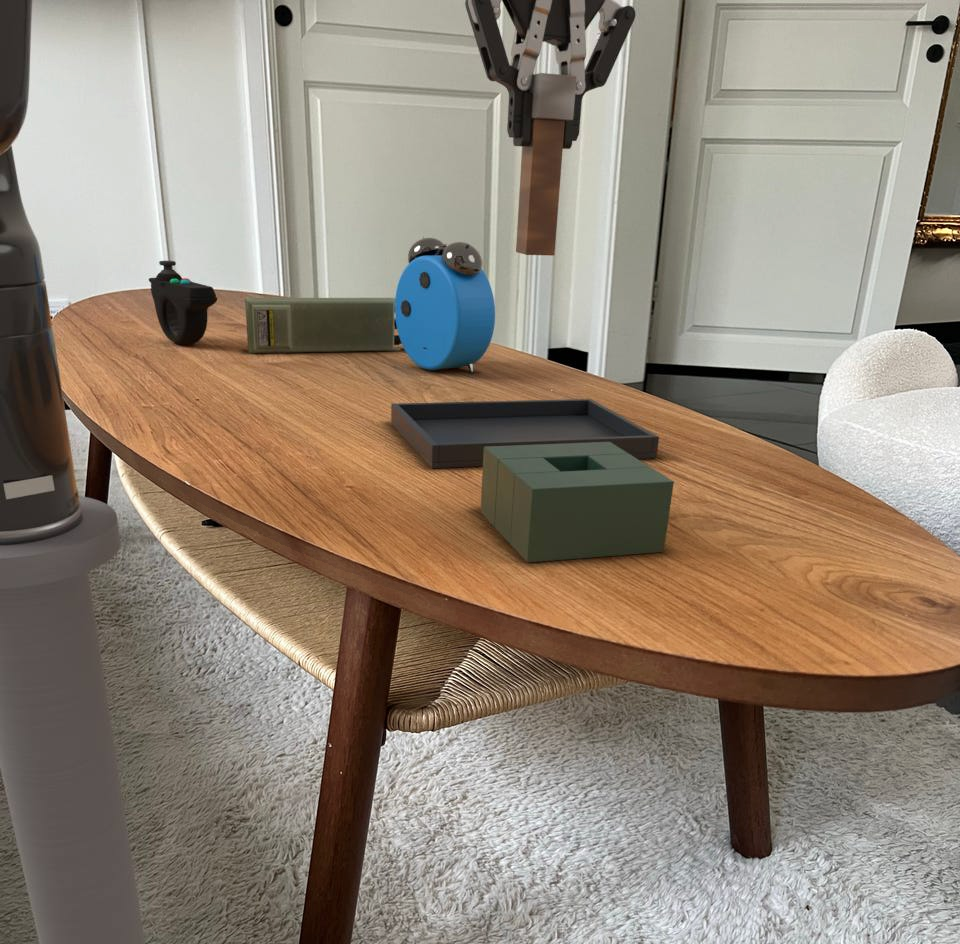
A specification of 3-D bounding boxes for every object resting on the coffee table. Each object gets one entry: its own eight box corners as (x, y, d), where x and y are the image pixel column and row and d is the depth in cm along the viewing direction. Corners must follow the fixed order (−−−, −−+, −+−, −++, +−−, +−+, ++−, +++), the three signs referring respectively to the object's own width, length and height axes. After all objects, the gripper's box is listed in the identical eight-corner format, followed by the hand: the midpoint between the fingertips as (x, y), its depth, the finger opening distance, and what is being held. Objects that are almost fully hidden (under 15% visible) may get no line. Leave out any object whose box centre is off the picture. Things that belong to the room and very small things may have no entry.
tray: (431, 468, 79) (432, 445, 78) (391, 423, 91) (391, 403, 91) (656, 458, 85) (659, 436, 84) (589, 417, 98) (590, 398, 97)
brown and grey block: (528, 256, 77) (540, 72, 71) (508, 250, 81) (518, 77, 75) (562, 257, 78) (577, 75, 72) (540, 251, 82) (553, 79, 76)
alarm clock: (493, 376, 115) (501, 244, 108) (454, 380, 111) (459, 244, 104) (429, 358, 124) (432, 235, 117) (391, 361, 120) (392, 235, 113)
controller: (180, 336, 129) (172, 258, 124) (225, 351, 121) (219, 268, 117) (150, 338, 126) (142, 259, 122) (194, 353, 118) (187, 269, 114)
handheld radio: (247, 349, 123) (428, 346, 131) (250, 355, 120) (435, 351, 128) (243, 296, 119) (429, 296, 128) (247, 300, 117) (437, 300, 125)
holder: (527, 562, 61) (532, 489, 59) (480, 512, 69) (483, 446, 67) (663, 552, 64) (674, 481, 61) (602, 505, 72) (610, 441, 70)
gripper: (625, -96, 73) (601, 152, 81) (453, -121, 69) (446, 142, 77) (670, -119, 67) (640, 152, 75) (484, -148, 63) (473, 142, 71)
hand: (541, 146), depth 76 cm, fingers closed on brown and grey block, 3 cm apart
